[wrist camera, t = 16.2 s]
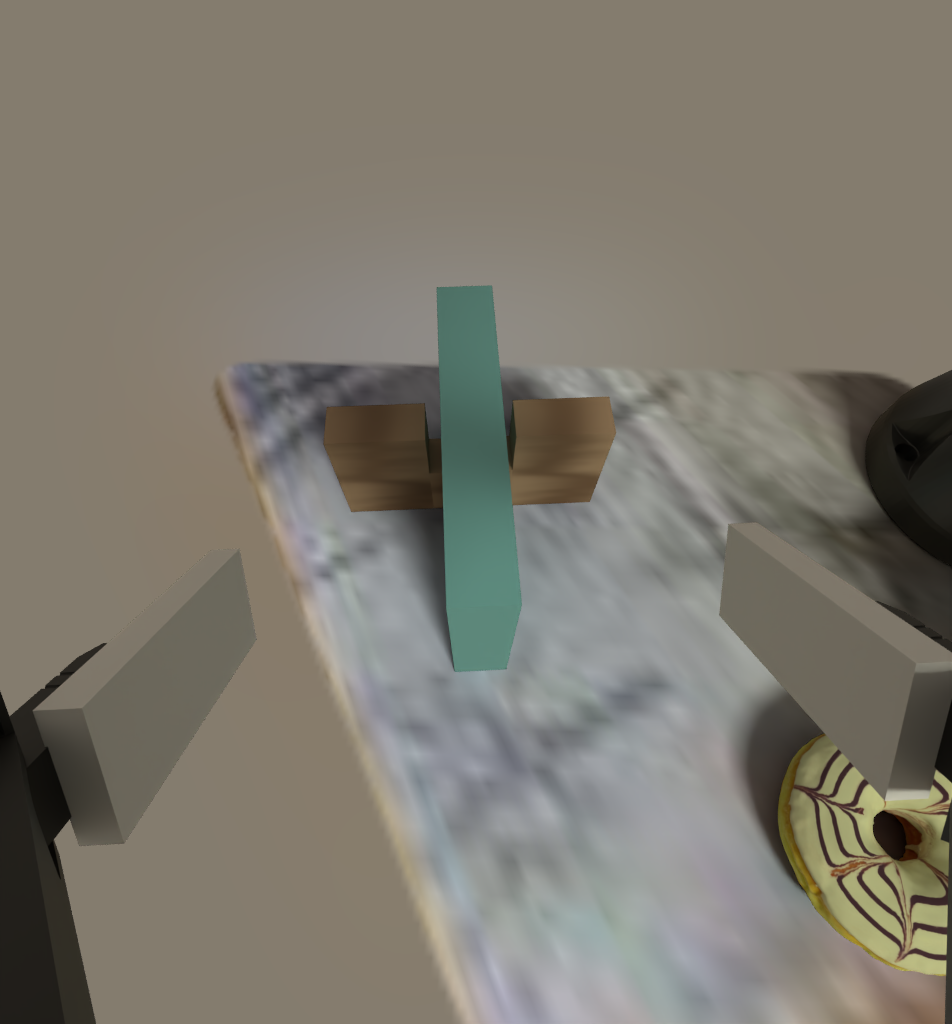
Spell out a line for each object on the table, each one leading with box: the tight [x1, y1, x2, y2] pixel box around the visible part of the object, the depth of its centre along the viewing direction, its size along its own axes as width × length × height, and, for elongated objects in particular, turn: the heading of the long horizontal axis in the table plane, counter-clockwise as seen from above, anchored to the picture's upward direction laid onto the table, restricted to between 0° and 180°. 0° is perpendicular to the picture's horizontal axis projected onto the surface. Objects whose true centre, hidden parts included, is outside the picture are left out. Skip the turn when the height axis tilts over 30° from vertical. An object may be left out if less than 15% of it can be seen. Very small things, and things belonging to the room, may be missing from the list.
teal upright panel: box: [437, 286, 522, 672], centre depth 32 cm, size 18×3×12 cm, turn 3°
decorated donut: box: [778, 733, 952, 976], centre depth 28 cm, size 10×11×4 cm
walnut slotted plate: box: [324, 397, 616, 512], centre depth 35 cm, size 16×2×8 cm, turn 93°
